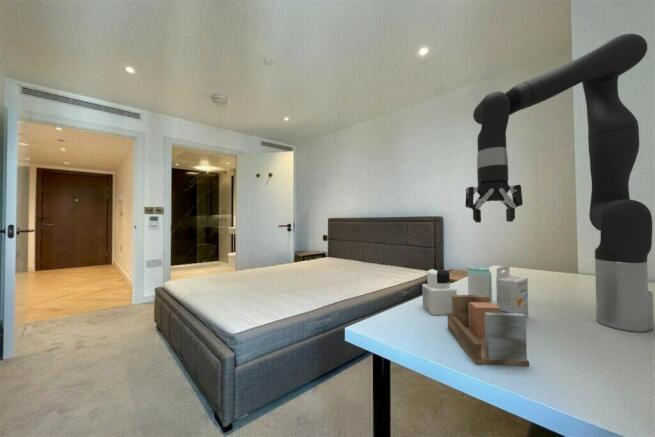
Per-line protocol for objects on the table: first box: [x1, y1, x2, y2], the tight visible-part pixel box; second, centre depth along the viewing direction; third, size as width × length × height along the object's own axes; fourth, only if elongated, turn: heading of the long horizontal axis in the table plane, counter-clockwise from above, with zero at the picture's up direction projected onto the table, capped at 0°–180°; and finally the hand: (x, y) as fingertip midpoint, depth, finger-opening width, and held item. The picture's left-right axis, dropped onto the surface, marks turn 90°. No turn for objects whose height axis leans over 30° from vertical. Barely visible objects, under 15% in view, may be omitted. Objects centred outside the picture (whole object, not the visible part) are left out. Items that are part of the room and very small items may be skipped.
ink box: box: [495, 264, 529, 319], centre depth 75 cm, size 8×5×15 cm, turn 123°
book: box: [469, 301, 501, 337], centre depth 64 cm, size 6×4×7 cm
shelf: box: [447, 294, 530, 367], centre depth 60 cm, size 10×17×10 cm, turn 172°
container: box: [421, 268, 458, 316], centre depth 83 cm, size 8×8×13 cm
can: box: [467, 265, 493, 303], centre depth 89 cm, size 7×7×12 cm
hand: (493, 222), depth 75 cm, fingers open, 8 cm apart
